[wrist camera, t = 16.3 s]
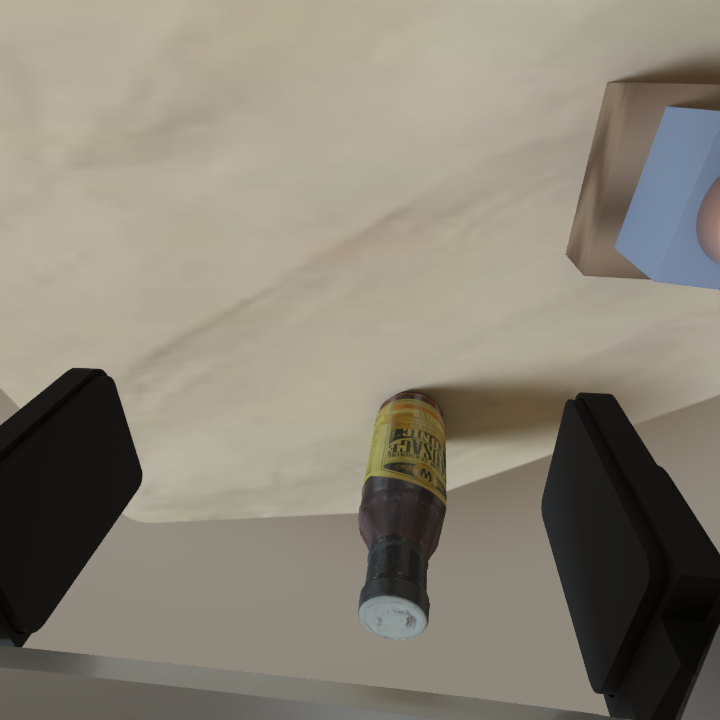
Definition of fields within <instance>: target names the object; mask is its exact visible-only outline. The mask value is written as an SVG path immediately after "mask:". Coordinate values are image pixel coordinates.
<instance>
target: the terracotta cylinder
mask: <svg viewBox="0 0 720 720" xmlns="http://www.w3.org/2000/svg"><path fill="white" fill-rule="evenodd" d="M696 233H697V238H698V242H699V244H700V247H701V249H702V250H703V252H704V253H705V254H706V255H707V256H708V257H709V258H710V259H711V260H712V261H714V262H715V263H717V264H719V265H720V176H719V177H718V178H717V179H716V180H715V182H714V183H713V184H712V185H711V187H710V188H709V190H708V191H707V193H706V195H705V197H704V199H703V201H702V203H701V205H700V208H699V211H698V216H697V221H696Z"/></svg>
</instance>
